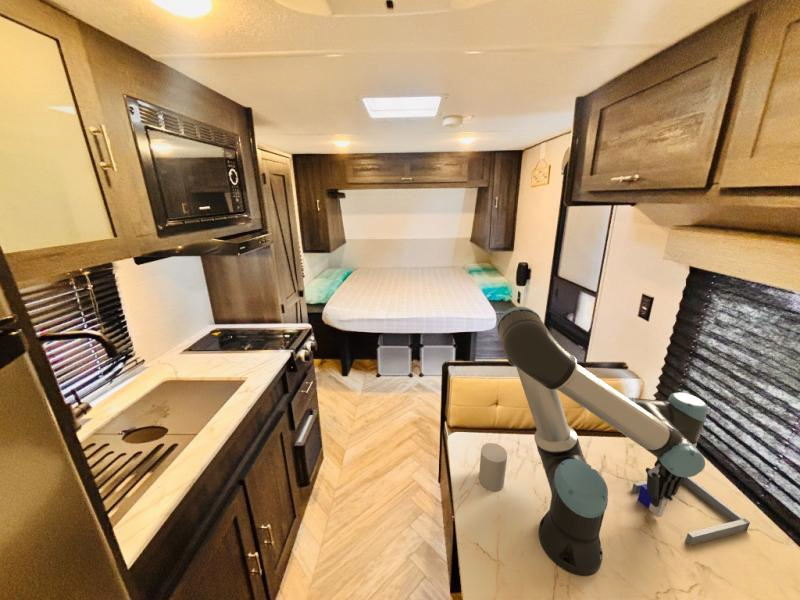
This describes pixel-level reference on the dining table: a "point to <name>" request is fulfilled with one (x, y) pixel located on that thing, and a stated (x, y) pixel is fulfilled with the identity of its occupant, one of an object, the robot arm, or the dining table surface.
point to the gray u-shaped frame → (721, 530)
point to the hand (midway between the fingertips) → (655, 512)
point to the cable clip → (645, 496)
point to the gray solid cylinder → (492, 467)
